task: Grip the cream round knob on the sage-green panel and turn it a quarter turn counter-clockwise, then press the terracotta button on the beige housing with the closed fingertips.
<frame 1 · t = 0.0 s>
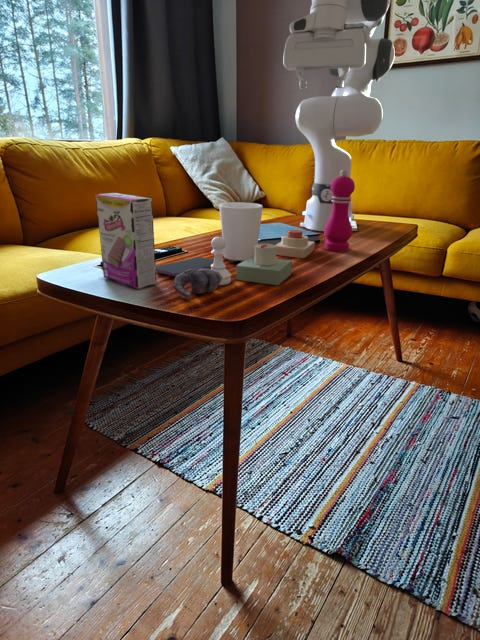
hand: (320, 88, 113), 39 cm above the table, tool pointing down, fingers open, 8 cm apart
cup: (240, 261, 106), on the table
grey elephant figurine: (199, 294, 83), on the table
candy bar box: (129, 282, 89), on the table
chess pawn: (218, 282, 89), on the table
dial panel: (264, 276, 93), on the table
knob: (265, 253, 91), point 5 cm above the table, hinge at 0.0°
button: (295, 234, 113), point 4 cm above the table, slide at 0.1 cm
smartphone: (189, 269, 98), on the table
pepper mill: (336, 249, 119), on the table
button box: (294, 252, 115), on the table
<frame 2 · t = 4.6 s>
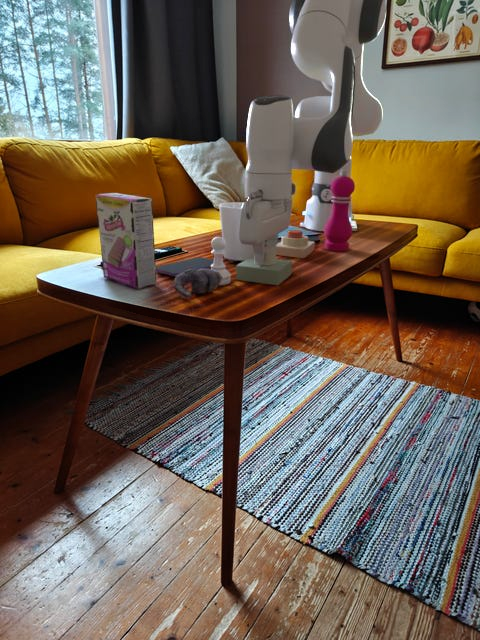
hand: (265, 258, 92), 4 cm above the table, tool pointing down, fingers closed on knob, 4 cm apart
knob: (265, 253, 91), point 5 cm above the table, hinge at -0.1°, touching gripper
everything else where it was.
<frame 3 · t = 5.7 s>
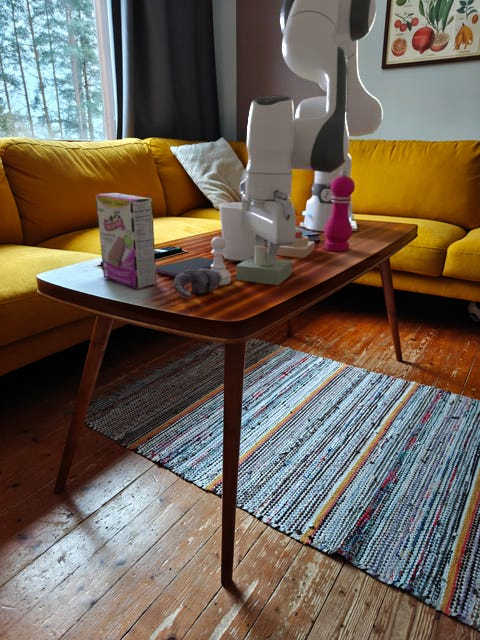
hand: (265, 258, 92), 4 cm above the table, tool pointing down, fingers closed on knob, 4 cm apart
knob: (265, 253, 91), point 5 cm above the table, hinge at 40.2°, touching gripper
everything else where it was.
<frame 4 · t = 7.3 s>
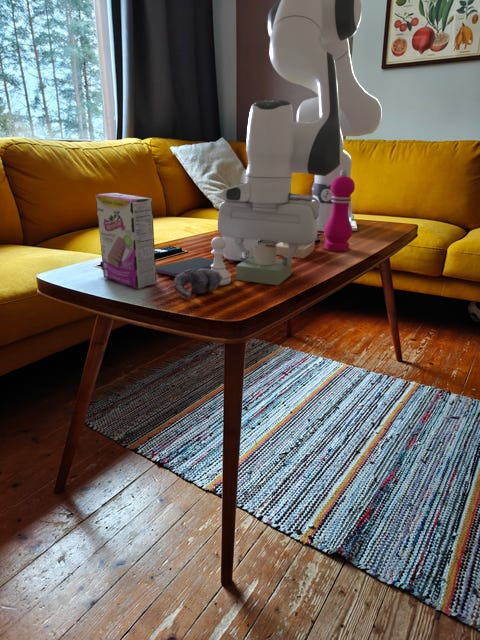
hand: (265, 261, 92), 3 cm above the table, tool pointing down, fingers open, 8 cm apart
knob: (265, 253, 91), point 5 cm above the table, hinge at 88.8°
everything else where it was.
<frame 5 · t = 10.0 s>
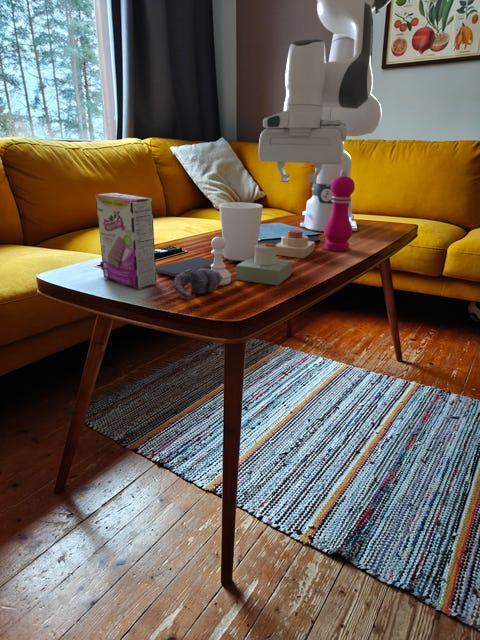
hand: (298, 183, 108), 17 cm above the table, tool pointing down, fingers open, 5 cm apart
nothing on the table moved.
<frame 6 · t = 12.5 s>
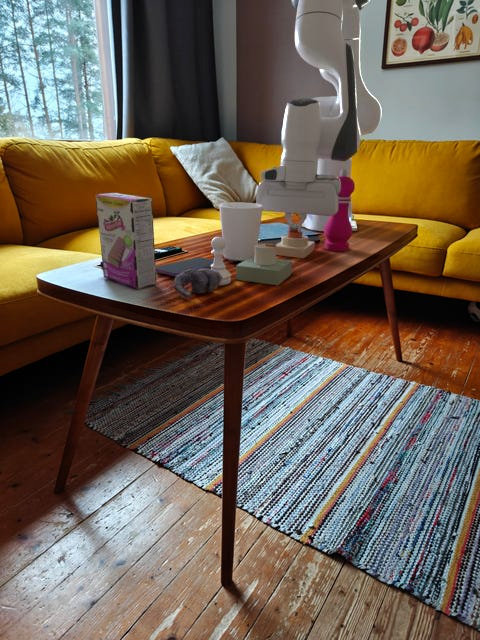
hand: (294, 231, 113), 5 cm above the table, tool pointing down, fingers closed, pressing on button
button: (295, 235, 113), point 4 cm above the table, slide at 0.0 cm, touching gripper
everything else where it was.
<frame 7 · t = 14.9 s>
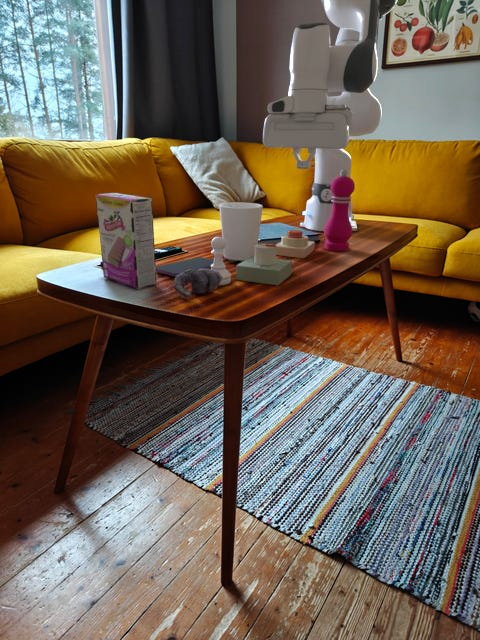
hand: (303, 168, 108), 20 cm above the table, tool pointing down, fingers closed
button: (295, 234, 113), point 4 cm above the table, slide at 0.1 cm
everything else where it was.
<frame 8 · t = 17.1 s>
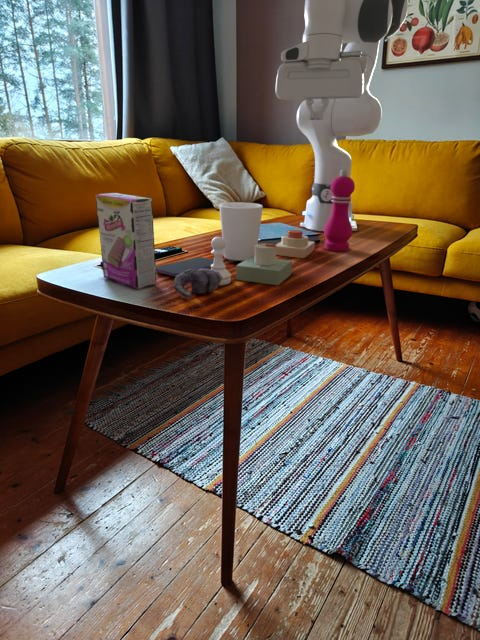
hand: (316, 120, 107), 31 cm above the table, tool pointing down, fingers closed
nothing on the table moved.
at the end: knob at +89° (first picture: +0°); button pushed in 1.1 cm at the most during the clip, back to where it started at the end; button slide at 0.1 cm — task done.
